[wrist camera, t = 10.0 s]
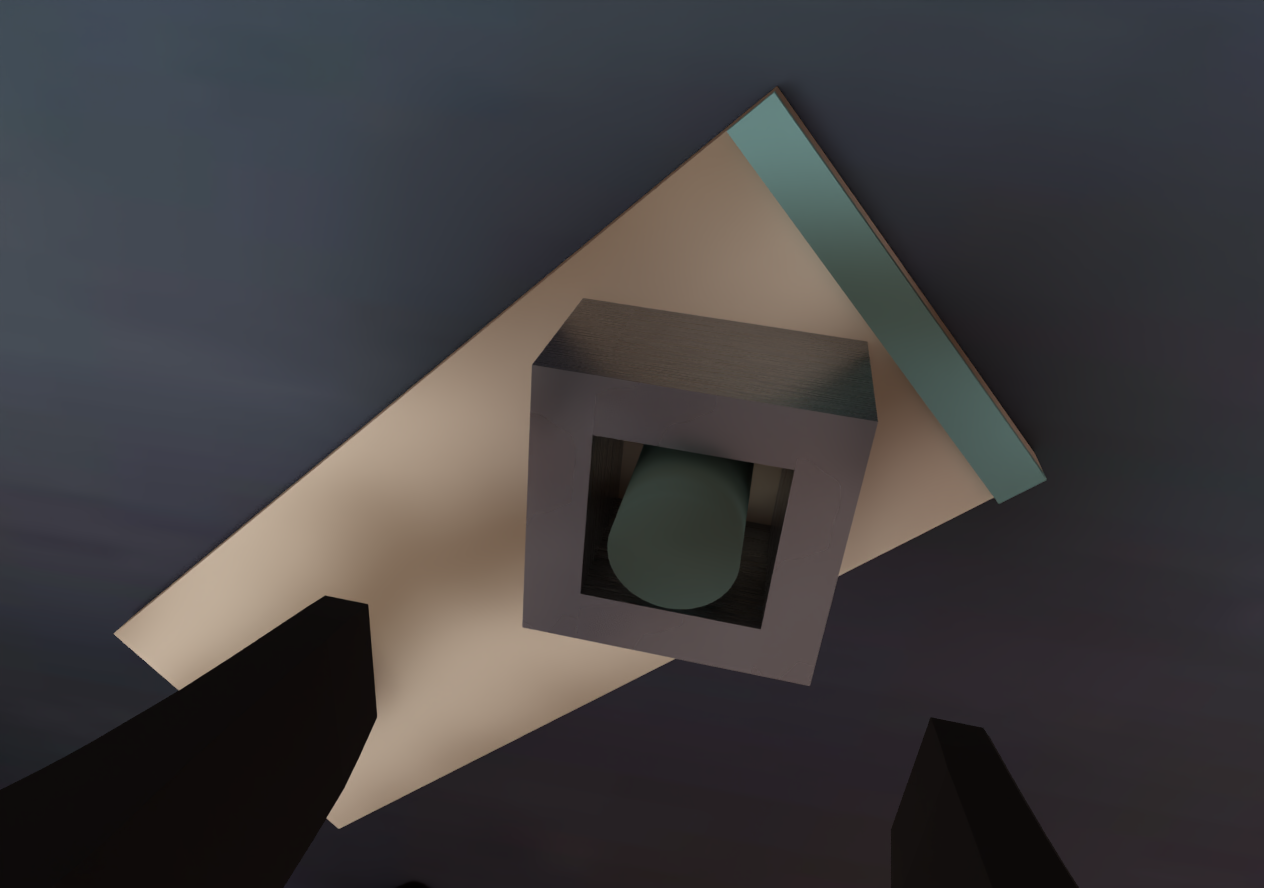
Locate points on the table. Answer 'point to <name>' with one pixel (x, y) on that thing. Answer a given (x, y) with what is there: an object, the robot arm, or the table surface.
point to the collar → (706, 424)
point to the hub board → (650, 475)
